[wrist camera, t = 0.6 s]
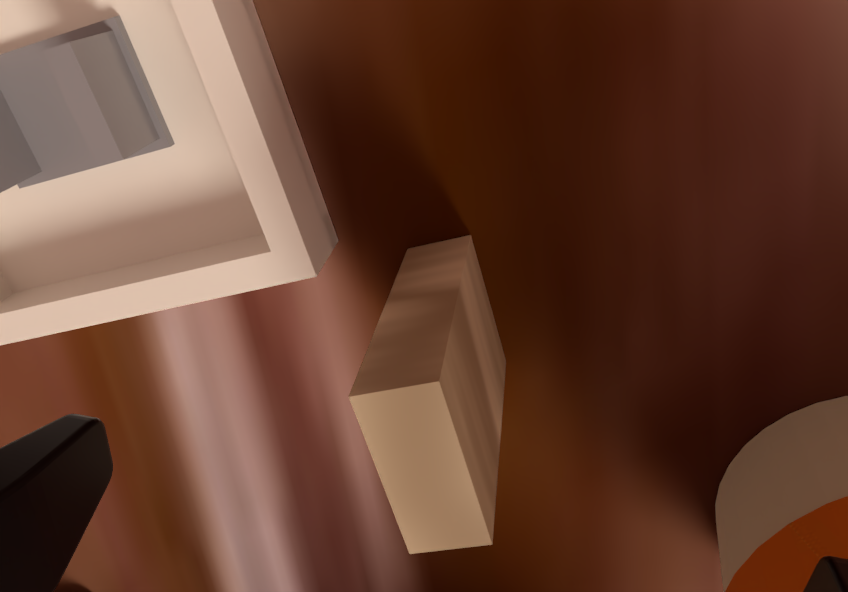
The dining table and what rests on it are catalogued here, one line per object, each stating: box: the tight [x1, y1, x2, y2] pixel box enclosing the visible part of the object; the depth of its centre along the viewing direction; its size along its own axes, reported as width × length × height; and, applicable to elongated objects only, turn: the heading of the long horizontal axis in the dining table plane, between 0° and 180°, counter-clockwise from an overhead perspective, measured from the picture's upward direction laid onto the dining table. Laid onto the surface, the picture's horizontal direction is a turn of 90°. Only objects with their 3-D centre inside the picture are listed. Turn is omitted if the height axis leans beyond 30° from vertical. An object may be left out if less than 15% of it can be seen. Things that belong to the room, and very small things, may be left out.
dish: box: [0, 0, 339, 345], centre depth 21 cm, size 12×12×3 cm
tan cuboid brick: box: [349, 235, 506, 554], centre depth 20 cm, size 2×4×8 cm, turn 17°
